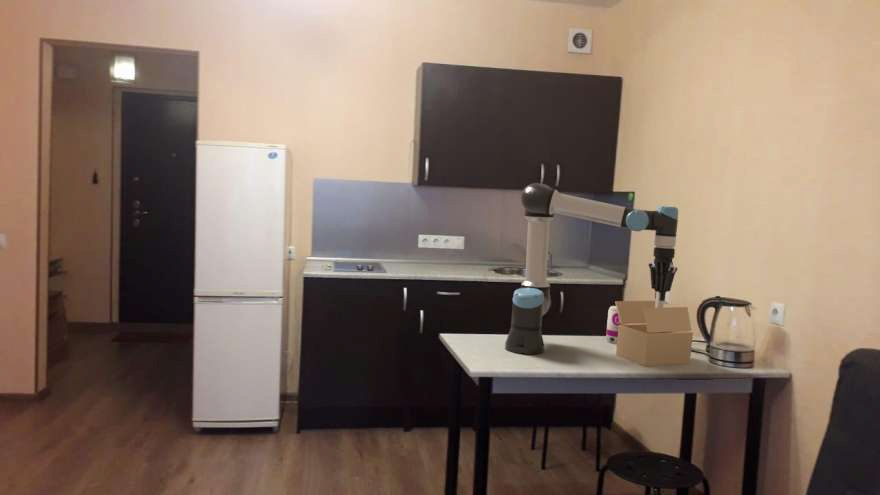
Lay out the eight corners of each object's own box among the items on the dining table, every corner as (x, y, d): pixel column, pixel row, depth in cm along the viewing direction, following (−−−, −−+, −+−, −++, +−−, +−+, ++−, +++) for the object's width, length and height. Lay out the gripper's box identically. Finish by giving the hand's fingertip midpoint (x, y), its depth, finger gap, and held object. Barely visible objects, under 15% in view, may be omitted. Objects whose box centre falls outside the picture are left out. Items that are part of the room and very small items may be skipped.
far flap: (615, 301, 251) (615, 301, 251) (621, 323, 248) (620, 323, 248) (656, 300, 259) (656, 301, 260) (662, 322, 256) (661, 322, 256)
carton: (644, 366, 234) (647, 334, 233) (616, 355, 249) (618, 324, 248) (689, 363, 243) (692, 332, 242) (660, 352, 258) (662, 323, 257)
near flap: (647, 332, 234) (648, 332, 234) (643, 308, 236) (644, 307, 236) (690, 330, 242) (691, 330, 242) (686, 307, 245) (687, 307, 244)
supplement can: (626, 345, 268) (629, 310, 266) (606, 343, 269) (609, 308, 268) (624, 341, 276) (627, 306, 274) (605, 339, 277) (608, 305, 276)
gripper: (685, 249, 237) (679, 311, 239) (660, 245, 249) (654, 305, 251) (669, 248, 234) (663, 312, 236) (644, 245, 246) (639, 305, 248)
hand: (658, 308), depth 244 cm, fingers closed
